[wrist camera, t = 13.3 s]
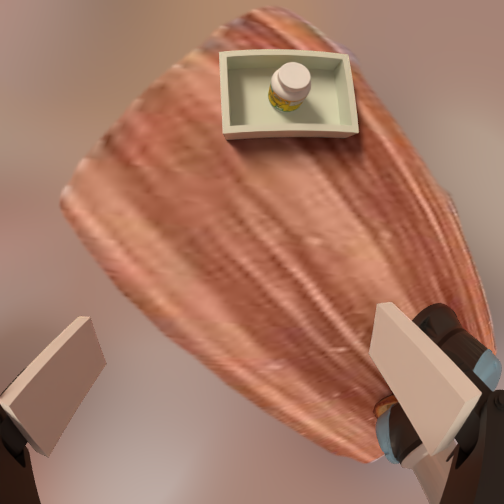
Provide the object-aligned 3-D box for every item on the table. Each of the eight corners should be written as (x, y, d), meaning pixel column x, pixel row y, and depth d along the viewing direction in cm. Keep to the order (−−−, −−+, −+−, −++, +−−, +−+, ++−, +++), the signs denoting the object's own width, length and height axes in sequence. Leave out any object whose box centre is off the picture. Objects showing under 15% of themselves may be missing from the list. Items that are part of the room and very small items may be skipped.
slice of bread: (436, 396, 56) (441, 403, 53) (386, 430, 59) (390, 438, 55) (426, 364, 53) (433, 373, 49) (368, 405, 55) (373, 415, 51)
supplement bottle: (307, 106, 37) (323, 87, 28) (276, 118, 38) (285, 100, 28) (292, 78, 36) (303, 53, 26) (261, 89, 36) (265, 65, 27)
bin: (344, 138, 39) (358, 132, 34) (226, 140, 39) (222, 133, 33) (336, 68, 36) (348, 54, 30) (222, 67, 36) (219, 52, 30)
